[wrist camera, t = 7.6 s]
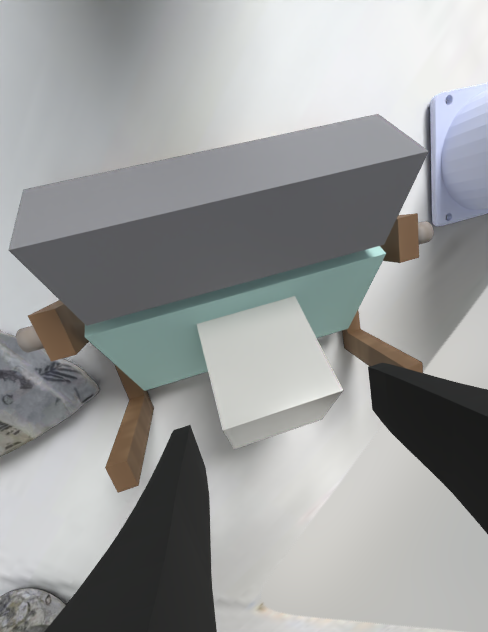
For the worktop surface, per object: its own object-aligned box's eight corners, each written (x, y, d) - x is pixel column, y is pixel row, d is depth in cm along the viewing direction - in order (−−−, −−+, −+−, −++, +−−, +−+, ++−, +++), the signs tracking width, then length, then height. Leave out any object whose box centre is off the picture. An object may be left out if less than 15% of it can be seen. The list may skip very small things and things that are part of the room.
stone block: (294, 295, 14) (343, 390, 11) (287, 342, 18) (321, 419, 15) (196, 323, 13) (222, 430, 11) (212, 365, 17) (234, 449, 15)
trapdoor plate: (389, 111, 11) (442, 148, 9) (329, 296, 21) (349, 329, 19) (7, 193, 9) (-12, 254, 8) (140, 350, 19) (144, 392, 17)
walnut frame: (344, 130, 17) (430, 72, 11) (365, 341, 22) (435, 383, 15) (32, 198, 15) (-75, 172, 9) (128, 416, 20) (101, 498, 13)
